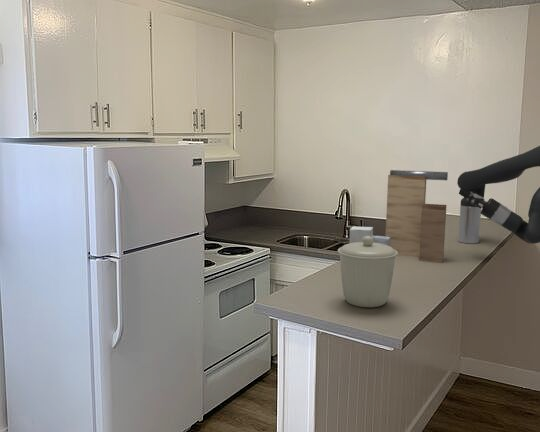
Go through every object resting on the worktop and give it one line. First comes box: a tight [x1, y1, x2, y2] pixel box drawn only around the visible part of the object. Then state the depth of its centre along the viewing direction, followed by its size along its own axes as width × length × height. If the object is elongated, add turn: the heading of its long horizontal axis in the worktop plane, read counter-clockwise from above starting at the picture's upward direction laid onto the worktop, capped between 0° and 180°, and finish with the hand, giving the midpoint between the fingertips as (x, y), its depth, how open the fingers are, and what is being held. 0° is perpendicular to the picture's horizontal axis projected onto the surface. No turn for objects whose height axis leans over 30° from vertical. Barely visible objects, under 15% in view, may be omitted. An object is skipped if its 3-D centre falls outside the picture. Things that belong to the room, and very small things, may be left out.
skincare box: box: [349, 226, 374, 243], centre depth 214 cm, size 8×7×16 cm
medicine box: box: [373, 235, 390, 246], centre depth 231 cm, size 8×4×9 cm, turn 65°
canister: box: [337, 236, 398, 308], centre depth 172 cm, size 18×18×21 cm
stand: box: [385, 174, 427, 257], centre depth 237 cm, size 7×15×34 cm, turn 70°
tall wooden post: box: [418, 203, 447, 264], centre depth 227 cm, size 7×9×22 cm
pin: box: [389, 169, 449, 181], centre depth 232 cm, size 3×23×3 cm, turn 70°
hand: (460, 190), depth 227 cm, fingers open, 8 cm apart
